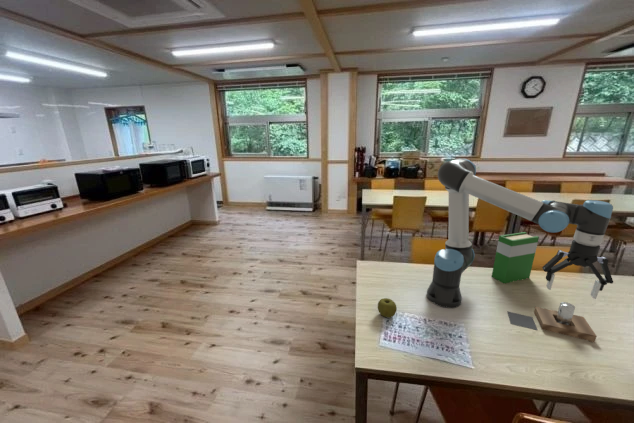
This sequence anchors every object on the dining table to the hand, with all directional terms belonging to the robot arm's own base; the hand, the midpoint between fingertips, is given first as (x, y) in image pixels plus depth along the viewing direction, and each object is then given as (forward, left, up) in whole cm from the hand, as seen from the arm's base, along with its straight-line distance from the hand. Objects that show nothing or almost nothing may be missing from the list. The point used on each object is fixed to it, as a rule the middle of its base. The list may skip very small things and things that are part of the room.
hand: (570, 292), depth 106 cm
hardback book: (-12, +37, -16) cm, 42 cm away
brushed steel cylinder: (0, 0, -16) cm, 16 cm away
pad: (-14, -3, -16) cm, 21 cm away
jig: (0, 0, -16) cm, 16 cm away
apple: (-66, -23, -16) cm, 71 cm away
